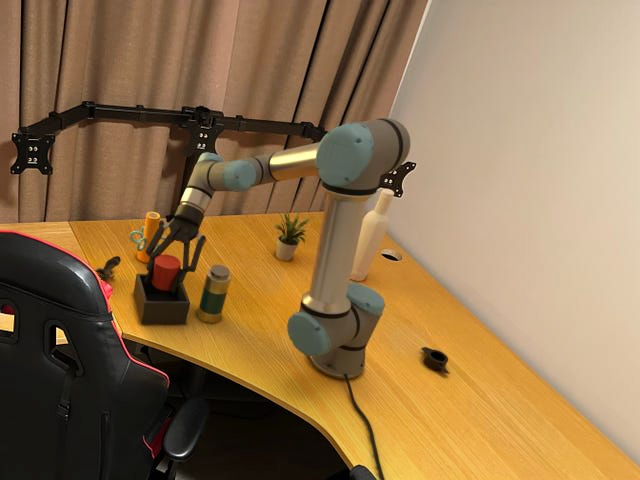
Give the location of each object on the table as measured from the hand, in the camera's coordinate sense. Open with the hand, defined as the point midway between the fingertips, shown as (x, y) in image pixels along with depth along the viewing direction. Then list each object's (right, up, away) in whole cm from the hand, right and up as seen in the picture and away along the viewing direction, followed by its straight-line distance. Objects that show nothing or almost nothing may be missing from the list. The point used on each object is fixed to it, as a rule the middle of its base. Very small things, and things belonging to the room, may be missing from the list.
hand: (159, 287), depth 170 cm
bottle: (+64, +9, +40) cm, 76 cm away
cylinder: (-4, +12, +28) cm, 31 cm away
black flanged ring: (+77, -21, +9) cm, 81 cm away
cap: (+1, +1, +3) cm, 4 cm away
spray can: (+14, -7, +10) cm, 19 cm away
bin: (0, -5, +9) cm, 10 cm away
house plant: (+40, +15, +41) cm, 59 cm away
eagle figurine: (-16, +4, +17) cm, 23 cm away
